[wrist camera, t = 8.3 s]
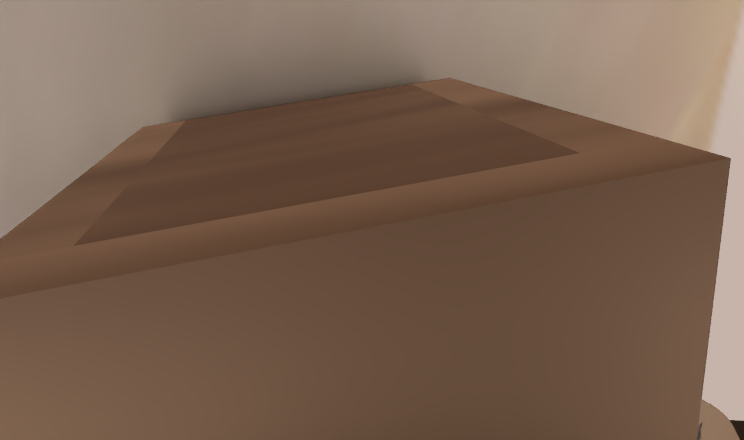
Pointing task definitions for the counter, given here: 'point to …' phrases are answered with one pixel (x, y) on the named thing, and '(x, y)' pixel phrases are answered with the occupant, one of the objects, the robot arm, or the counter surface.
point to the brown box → (368, 278)
